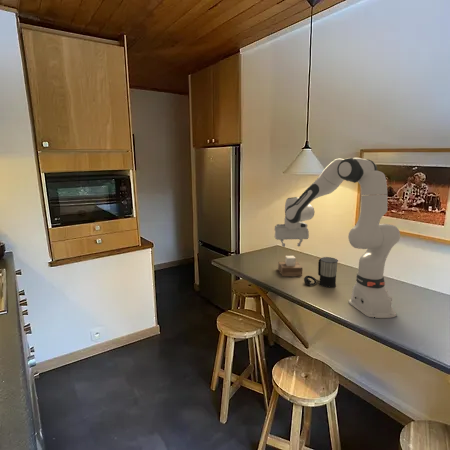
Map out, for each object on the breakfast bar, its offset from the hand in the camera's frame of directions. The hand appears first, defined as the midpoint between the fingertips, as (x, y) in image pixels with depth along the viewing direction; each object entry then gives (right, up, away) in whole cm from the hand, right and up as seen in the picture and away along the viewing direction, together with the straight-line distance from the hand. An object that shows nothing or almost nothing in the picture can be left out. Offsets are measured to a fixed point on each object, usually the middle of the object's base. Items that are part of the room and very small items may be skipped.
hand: (291, 246), depth 191 cm
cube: (0, -12, +3) cm, 12 cm away
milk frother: (+13, -21, -14) cm, 28 cm away
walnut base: (0, -16, +4) cm, 17 cm away
